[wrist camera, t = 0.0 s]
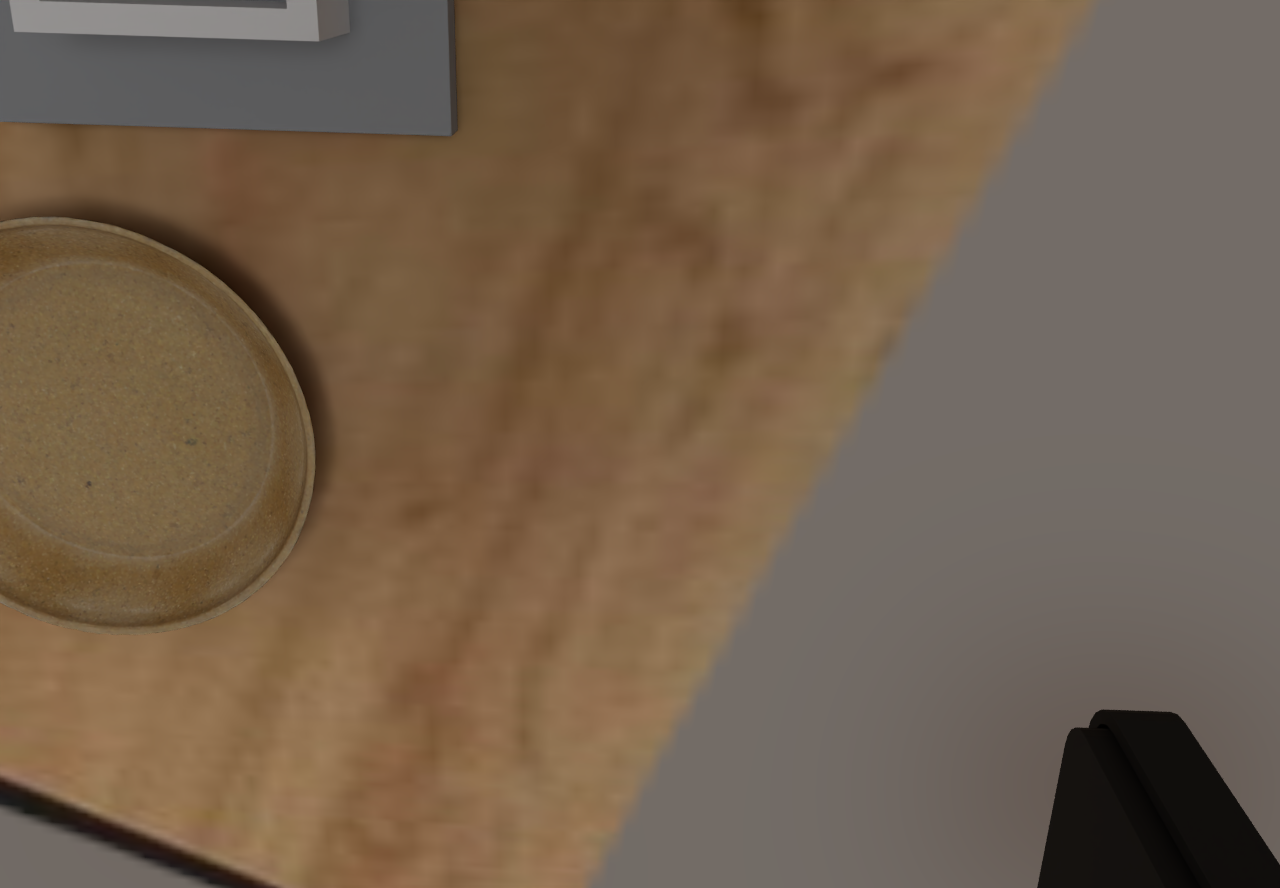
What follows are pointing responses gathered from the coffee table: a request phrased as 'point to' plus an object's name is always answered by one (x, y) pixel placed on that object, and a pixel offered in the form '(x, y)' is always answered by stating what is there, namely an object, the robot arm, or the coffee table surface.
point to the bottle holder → (232, 64)
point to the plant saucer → (138, 434)
